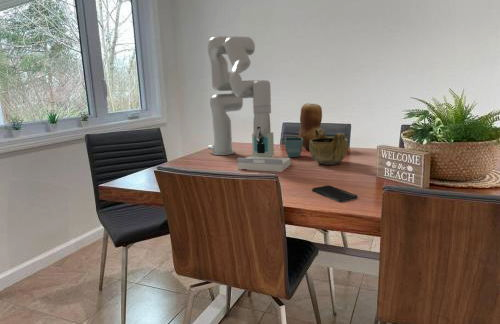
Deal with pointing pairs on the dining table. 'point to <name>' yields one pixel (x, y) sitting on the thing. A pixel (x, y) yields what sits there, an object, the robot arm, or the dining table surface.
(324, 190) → the phone
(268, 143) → the carton
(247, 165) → the flat grey box
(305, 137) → the butternut squash
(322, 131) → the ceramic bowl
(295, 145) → the flower pot
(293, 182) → the dining table surface
